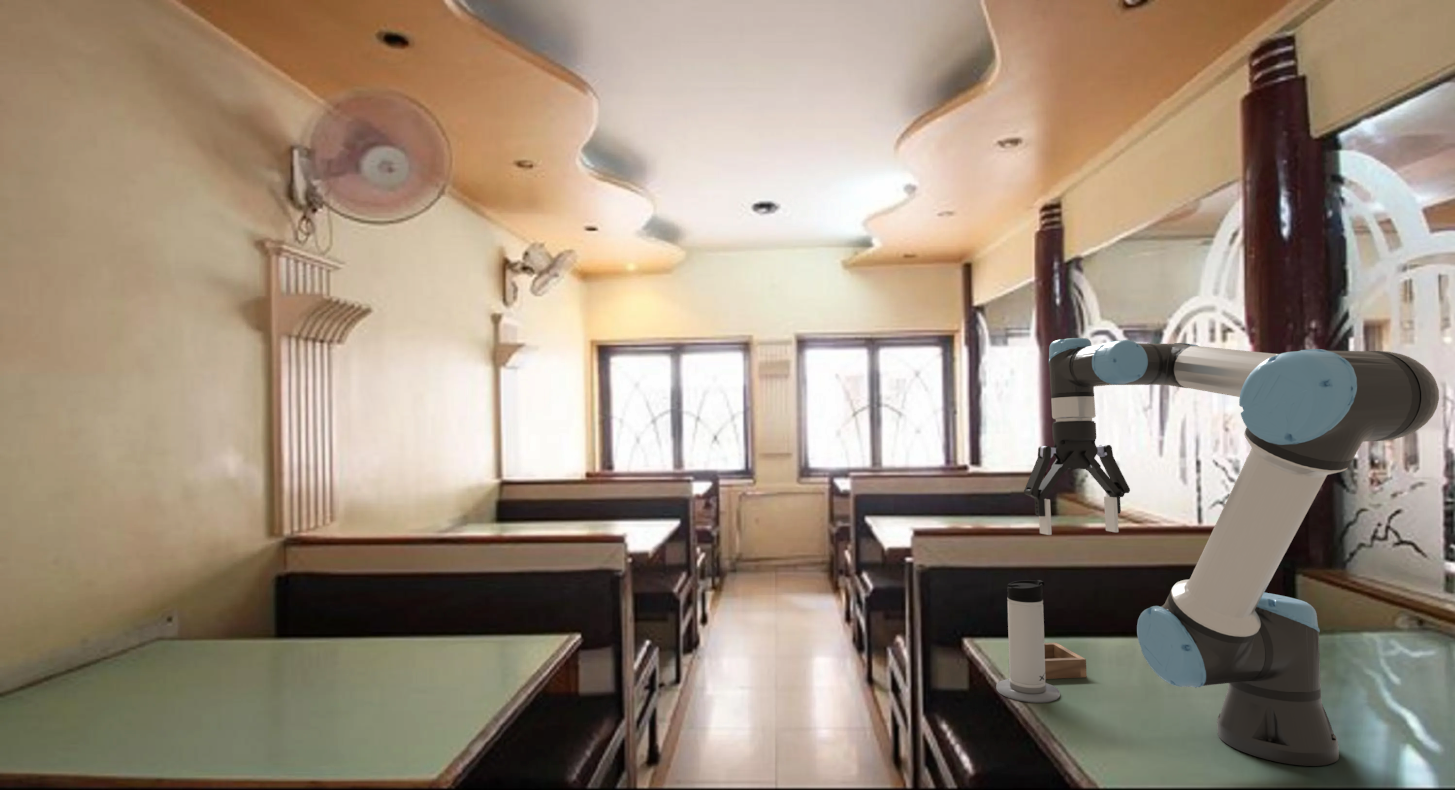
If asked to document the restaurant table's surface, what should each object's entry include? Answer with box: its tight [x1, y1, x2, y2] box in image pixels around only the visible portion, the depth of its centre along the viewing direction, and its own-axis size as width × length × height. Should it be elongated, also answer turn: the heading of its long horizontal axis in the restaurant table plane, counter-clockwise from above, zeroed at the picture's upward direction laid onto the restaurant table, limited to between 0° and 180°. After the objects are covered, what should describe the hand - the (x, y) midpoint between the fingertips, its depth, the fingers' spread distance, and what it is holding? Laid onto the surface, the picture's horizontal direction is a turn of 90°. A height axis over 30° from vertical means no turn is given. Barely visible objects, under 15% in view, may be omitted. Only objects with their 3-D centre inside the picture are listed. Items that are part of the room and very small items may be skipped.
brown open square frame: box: [1044, 642, 1088, 680], centre depth 151 cm, size 11×10×4 cm
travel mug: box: [1006, 579, 1047, 694], centre depth 139 cm, size 6×7×20 cm
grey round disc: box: [995, 678, 1061, 704], centre depth 139 cm, size 11×11×1 cm
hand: (1079, 533), depth 139 cm, fingers open, 13 cm apart
